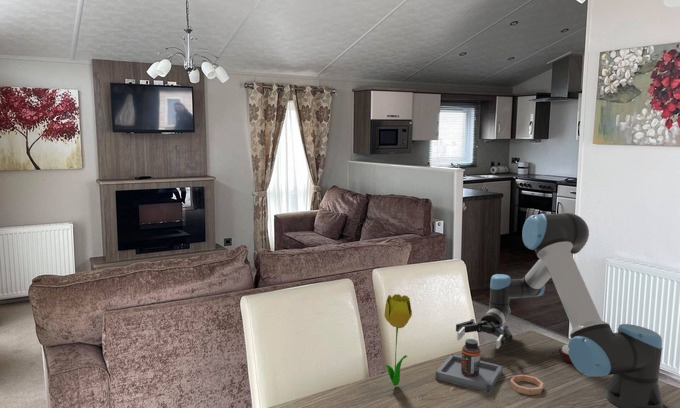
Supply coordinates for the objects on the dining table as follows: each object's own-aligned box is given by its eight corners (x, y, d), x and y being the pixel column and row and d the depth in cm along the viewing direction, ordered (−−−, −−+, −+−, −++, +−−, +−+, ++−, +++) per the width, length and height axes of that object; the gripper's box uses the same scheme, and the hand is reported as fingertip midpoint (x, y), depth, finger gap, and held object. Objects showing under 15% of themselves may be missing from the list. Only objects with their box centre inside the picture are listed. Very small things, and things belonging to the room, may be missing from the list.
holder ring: (544, 384, 169) (545, 379, 168) (539, 397, 160) (539, 392, 160) (514, 377, 173) (514, 372, 173) (507, 389, 165) (508, 384, 165)
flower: (378, 389, 164) (380, 298, 160) (388, 378, 172) (390, 291, 167) (403, 395, 160) (406, 302, 156) (412, 384, 168) (415, 295, 163)
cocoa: (555, 358, 189) (556, 326, 188) (570, 356, 191) (571, 324, 190) (572, 368, 180) (573, 335, 179) (588, 366, 182) (589, 333, 180)
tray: (502, 372, 176) (502, 365, 176) (490, 392, 163) (490, 385, 162) (451, 360, 185) (451, 354, 185) (435, 378, 172) (435, 371, 171)
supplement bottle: (457, 370, 175) (458, 339, 174) (471, 367, 178) (472, 336, 176) (468, 378, 170) (470, 345, 168) (482, 375, 173) (484, 342, 171)
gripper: (526, 337, 193) (513, 358, 174) (460, 324, 205) (442, 343, 187) (527, 318, 192) (515, 337, 173) (461, 306, 204) (443, 323, 186)
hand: (477, 340), depth 180 cm, fingers open, 13 cm apart
